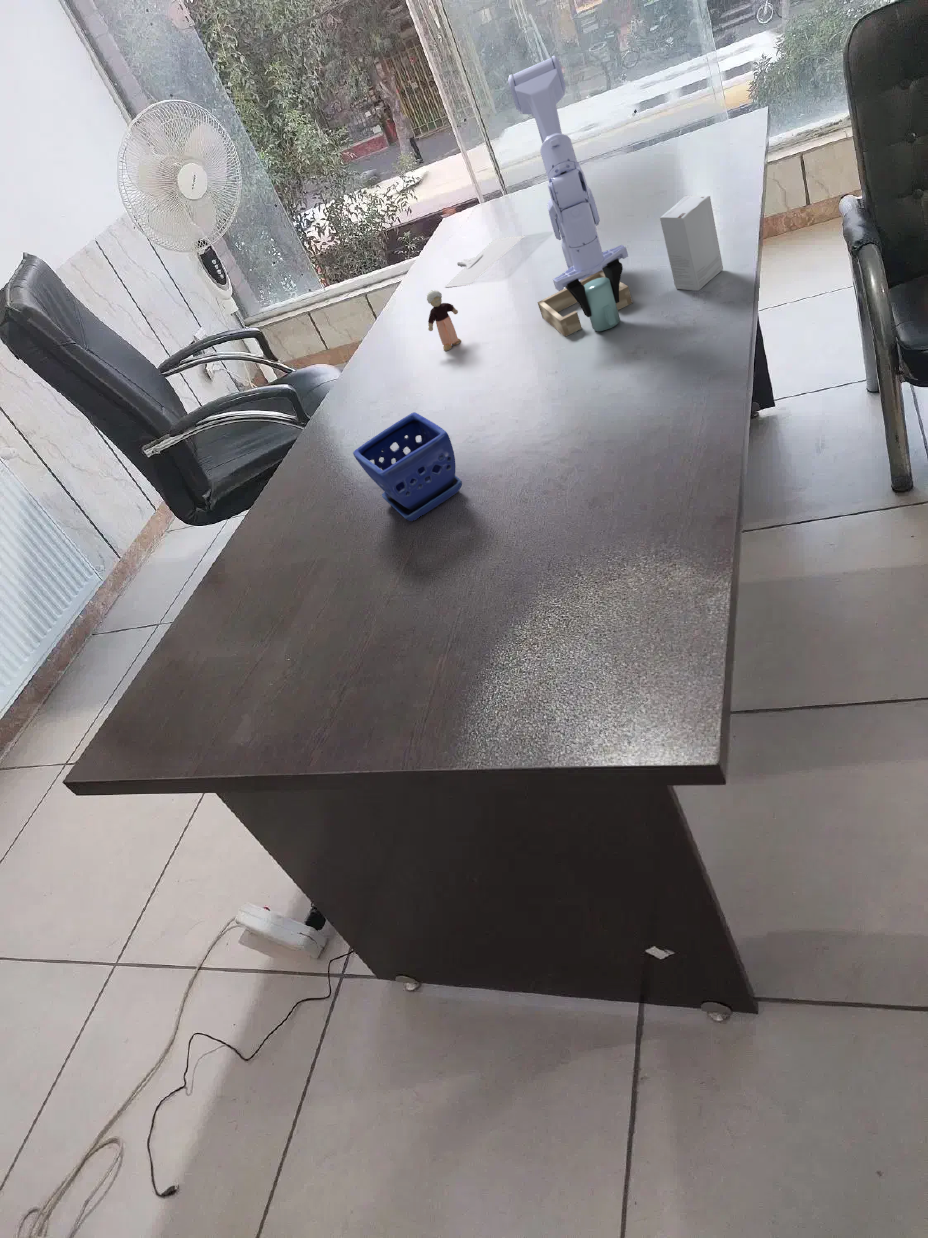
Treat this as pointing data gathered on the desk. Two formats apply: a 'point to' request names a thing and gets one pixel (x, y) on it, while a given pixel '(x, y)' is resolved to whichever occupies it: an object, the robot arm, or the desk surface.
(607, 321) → the teal cylinder with tab
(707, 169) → the desk surface
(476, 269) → the white flat panel
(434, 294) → the grandmother figurine
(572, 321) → the cradle
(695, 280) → the skincare box
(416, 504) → the flower pot
